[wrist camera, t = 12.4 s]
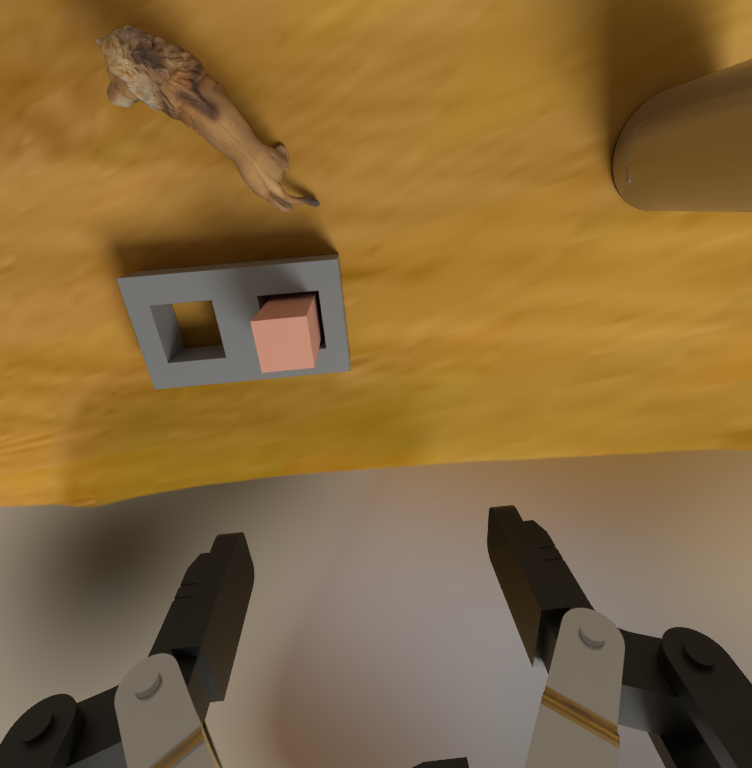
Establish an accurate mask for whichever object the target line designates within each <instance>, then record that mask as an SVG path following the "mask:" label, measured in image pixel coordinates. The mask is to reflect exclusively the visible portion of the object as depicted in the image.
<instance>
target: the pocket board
mask: <svg viewBox="0 0 752 768" xmlns="http://www.w3.org/2000/svg"><path fill="white" fill-rule="evenodd" d="M116 279H117V282H118V285H119V288H120V291H121V294H122V296H123V299H124V302H125V305H126V308H127V311H128V314H129V317H130V319H131V322H132V325H133V328H134V331H135V334H136V337H137V339H138V342H139V345H140V348H141V351H142V354H143V357H144V360H145V362H146V365H147V368H148V371H149V374H150V377H151V380H152V383H153V385H154V388H155V389H164V388H174V387H185V386H196V385H206V384H217V383H228V382H238V381H249V380H259V379H270V378H281V377H291V376H302V375H312V374H323V373H334V372H344V371H350V350H349V341H348V332H347V323H346V314H345V305H344V296H343V287H342V278H341V269H340V260H339V254H330V255H319V256H307V257H296V258H284V259H273V260H261V261H250V262H238V263H227V264H215V265H204V266H192V267H181V268H169V269H158V270H146V271H139V272H136V273H132V274H129V275H126V276H123V277H120V278H116ZM308 291H319V298H320V305H321V312H322V320H323V327H324V334H325V336H321V341H320V345H319V350H318V355H317V359H316V364H315V368H306V369H296V370H286V371H276V372H266V373H262V372H261V367H260V362H259V358H258V353H257V349H256V344H255V340H254V335H253V331H252V326H251V322H250V321H251V320H252V319H253V318H254V317H255V315H256V314H257V313H258V312H259V311H260V310H261V308H262V307H263V306H264V305H265V304H266V303H267V301H268V300H269V299H268V295H275V294H286V293H297V292H308ZM207 300H212V303H213V307H214V311H215V315H216V319H217V323H218V327H219V331H220V335H221V339H222V343H223V345H216V346H205V347H194V348H185V347H184V343H183V340H182V336H181V333H180V330H179V326H178V323H177V320H176V316H175V313H174V310H173V306H172V304H174V303H185V302H196V301H207Z"/></svg>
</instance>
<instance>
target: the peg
mask: <svg viewBox="0 0 752 768" xmlns="http://www.w3.org/2000/svg"><path fill="white" fill-rule="evenodd" d="M250 322H251V326H252V331H253V335H254V340H255V344H256V349H257V353H258V358H259V362H260V367H261V372H262V373H266V372H276V371H286V370H296V369H306V368H315V364H316V359H317V355H318V350H319V345H320V341H321V336H322V331H323V327H322V320H321V313H320V306H319V299H318V292H317V291H308V292H297V293H286V294H275V295H273V296H272V297H271V298H270V299H269V300H268V301H267V303H266V304H265V305H264V306H263V307H262V308H261V310H260V311H259V312H258V313H257V314H256V315H255V317H254V318H253V319H252V320H251V321H250Z"/></svg>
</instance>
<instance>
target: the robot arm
mask: <svg viewBox="0 0 752 768" xmlns="http://www.w3.org/2000/svg"><path fill="white" fill-rule="evenodd" d="M613 177H614V182H615V185H616V188H617V190H618V192H619V193H620V195H621V196H622V198H623V199H624V200H625V201H626V202H627V203H629V204H630V205H631V206H634V207H636V208H638V209H642V210H649V211H699V212H752V59H750V60H747V61H744V62H741V63H739V64H736V65H733V66H731V67H728V68H725V69H722V70H720V71H717V72H714V73H711V74H709V75H705V76H703V77H700V78H697V79H695V80H692V81H689V82H686V83H684V84H681V85H678V86H675V87H673V88H670V89H667V90H665V91H662V92H660V93H658V94H656V95H655V96H653V97H651V98H650V99H648V100H647V101H646V102H645V103H644V104H642V105H641V106H640V107H639V108H638V109H637V110H636V111H635V113H634V114H633V115H632V116H631V117H630V118H629V120H628V122H627V123H626V125H625V126H624V128H623V130H622V132H621V134H620V136H619V139H618V141H617V144H616V148H615V152H614V156H613ZM487 546H488V553H489V557H490V561H491V563H492V566H493V568H494V571H495V573H496V576H497V578H498V581H499V584H500V586H501V589H502V591H503V594H504V596H505V599H506V601H507V604H508V606H509V609H510V611H511V614H512V616H513V619H514V622H515V624H516V627H517V629H518V632H519V634H520V637H521V639H522V641H523V644H524V647H525V649H526V652H527V654H528V657H529V659H530V662H531V664H532V667H541V666H545V667H546V670H547V672H548V674H549V675H548V679H547V684H546V687H545V691H544V693H543V696H542V700H541V704H540V708H539V712H538V716H537V720H536V724H535V728H534V732H533V736H532V740H531V744H530V748H529V752H528V757H527V760H526V764H525V768H618V758H619V745H620V743H619V742H620V739H619V734H618V733H617V726H618V724H620V725H623V726H627V727H631V728H634V729H639V730H642V731H646V732H648V734H649V736H650V738H651V740H652V742H653V743H654V746H655V748H656V750H657V752H658V754H659V756H660V757H661V759H662V761H663V763H664V765H665V767H666V768H752V684H751V683H750V682H749V680H748V679H747V678H746V676H745V675H744V674H743V673H742V671H741V670H740V669H739V667H738V666H737V665H736V664H735V662H734V661H733V660H732V658H731V657H730V656H729V655H728V654H727V652H726V651H725V650H724V649H723V648H722V647H721V646H720V645H719V644H717V643H716V642H715V641H713V640H712V639H711V638H709V637H707V636H706V635H704V634H701V633H700V632H698V631H695V630H692V629H689V628H684V627H675V628H671V629H668V630H667V631H666V632H665V633H664V635H663V637H662V639H661V638H655V637H651V636H646V635H641V634H636V633H632V632H628V631H625V630H622V629H620V628H618V627H616V625H615V624H614V623H613V622H612V621H611V620H609V619H608V618H607V617H606V616H604V615H602V614H601V613H599V612H597V611H595V610H594V609H593V607H592V606H591V604H590V602H589V601H588V599H587V598H586V596H585V594H584V593H583V591H582V589H581V588H580V586H579V584H578V583H577V581H576V579H575V578H574V576H573V574H572V573H571V571H570V569H569V568H568V566H567V564H566V563H565V561H563V559H562V556H561V555H560V553H559V551H558V550H557V549H556V547H555V544H554V543H553V541H552V539H551V538H550V536H549V535H548V533H547V532H546V531H545V530H544V529H543V528H542V527H541V526H539V525H538V524H537V523H536V522H535V521H533V520H531V521H523V520H522V518H521V517H520V515H519V513H518V511H517V509H516V508H515V507H514V506H513V505H510V506H500V507H491V508H490V509H489V519H488V535H487ZM253 584H254V566H253V562H252V559H251V556H250V552H249V549H248V545H247V542H246V538H245V535H244V533H242V532H239V533H229V534H220V535H218V536H217V537H216V539H215V541H214V543H213V546H212V548H211V551H210V553H203V554H200V555H199V556H198V557H197V559H196V560H195V561H194V562H193V563H192V564H191V565H190V566H189V568H188V569H187V571H186V573H185V576H184V578H183V580H182V582H181V587H180V588H179V589H178V591H177V593H176V596H175V600H174V601H173V602H172V605H171V607H170V609H169V611H168V614H167V616H166V618H165V620H164V623H163V625H162V627H161V629H160V631H159V634H158V636H157V638H156V640H155V643H154V645H153V647H152V649H151V652H150V653H149V656H148V657H147V658H145V659H144V660H142V661H140V662H139V663H138V664H136V665H135V666H134V667H133V668H132V669H131V670H130V671H129V672H128V673H127V674H126V675H125V677H124V678H123V679H122V681H121V683H120V684H119V685H118V686H116V687H113V688H111V689H109V690H107V691H105V692H102V693H100V694H98V695H95V696H93V697H91V698H88V699H86V700H84V701H81V702H79V703H76V701H75V700H74V699H73V698H72V697H71V696H70V695H67V694H57V695H53V696H51V697H48V698H46V699H44V700H42V701H40V702H38V703H37V704H35V705H34V706H33V707H31V708H30V709H29V710H27V711H26V712H25V713H24V714H23V715H22V716H21V717H20V718H19V719H18V720H17V721H16V722H15V723H14V725H13V726H12V727H11V728H10V730H9V731H8V733H7V734H6V736H5V738H4V739H3V741H2V742H1V744H0V768H223V765H222V763H221V760H220V758H219V755H218V752H217V750H216V747H215V745H214V742H213V740H212V737H211V734H210V732H209V729H208V726H207V724H206V721H205V718H206V714H207V710H208V707H209V703H210V702H216V701H224V698H225V694H226V690H227V686H228V682H229V679H230V674H231V671H232V667H233V663H234V659H235V655H236V651H237V647H238V643H239V639H240V635H241V631H242V628H243V624H244V620H245V615H246V612H247V608H248V604H249V600H250V596H251V592H252V588H253ZM413 768H469V766H468V761H467V757H463V758H456V759H447V760H438V761H429V762H423V763H421V764H419V765H417V766H415V767H413Z"/></svg>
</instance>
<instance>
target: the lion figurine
mask: <svg viewBox="0 0 752 768" xmlns="http://www.w3.org/2000/svg"><path fill="white" fill-rule="evenodd" d="M96 43H97V44H98V45H99V47H100V48H101V53H102V54H103V56H104V57H105V61H106V64H107V66H108V68H107V70H108V75H109V78H110V79H111V82H110V84H109V86H108V89H107V96H108V98H109V100H110V101H111V103H113V104H114V105H117V106H118V105H120V106H122V107H130V106H131V105H132V104H133V103H135V102H137V101H139V100H141V101H143V102H144V103H146V104H147V105H148V106H149V107H150V108H151V109H153V110H161V111H163V112H164V113H165V114H167V115H168V116H170V117H172V118H173V119H176V120H181V121H182V122H183V123H184V124H185V125H186V126H187V127H190V128H192V129H194V130H195V131H197V132H198V133H199V134H200V135H202V136H203V137H204V138H205V139H206V140H207V141H208V142H209V143H210V144H211V145H212V146H214V147H215V148H216V149H218V150H219V151H220V152H221V153H223V154H224V155H225V156H227V157H228V158H230V159H231V160H233V161H234V162H235V164H236V166H237V168H238V170H239V172H240V174H241V176H242V179H243V180H244V182H245V183H246V184H247V185H248V186H249V187H250V188H251V189H252V190H253V192H254V193H255V194H256V195H257V196H258V197H260V198H263V199H265V200H267V201H268V202H270V203H271V204H272V205H274V206H275V207H276V208H277V209H278V210H279V211H280V212H284V213H288V212H290V211H291V209H292V206H291V204H308V205H310V206H315V207H318V206H319V205H320V202H319V201H317V200H315V199H313V198H311V197H294V196H291V195H289V194H287V193H286V192H285V191H284V190H283V189H282V188H281V184H280V181H281V180H282V178H283V176H284V171H285V172H288V171H289V162H288V161H289V154H288V150H287V148H286V147H285V146H284V145H278V146H276V147H275V149H274V148H272V147H270V146H266V145H264V144H263V143H261V142H260V141H259V140H258V139H257V138H256V136H255V135H254V133H253V131H252V129H251V128H250V126H249V124H248V123H247V122H246V120H245V119H244V118H243V117H242V115H241V114H240V112H239V111H238V110H237V108H236V107H235V106H234V105H233V103H232V102H231V101H230V100H229V99H228V98H227V97H226V96H225V91H224V89H223V87H222V86H221V85H220V84H216V82H215V81H214V79H213V78H211V77H210V76H209V75H208V74H207V73H206V70H205V69H204V67H203V65H202V64H201V63H200V61H198V60H197V59H196V58H195V57H194V56H193V55H191V54H190V53H188V52H185V51H184V50H183V49H182V48H181V47H180V46H178V45H176V44H171V43H169V42H167V41H165V40H164V39H163V38H161V37H154V36H153V35H151V34H146V33H145V32H144V31H142V30H139V29H135V28H133V27H131V26H129V25H126V26H124V28H123V29H115V30H114V31H113V32H112V33H111V34H109V35H108V36H107V37H106V38H105V39H103V38H98V39H96ZM275 195H276V196H275ZM278 197H279V198H278Z"/></svg>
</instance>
